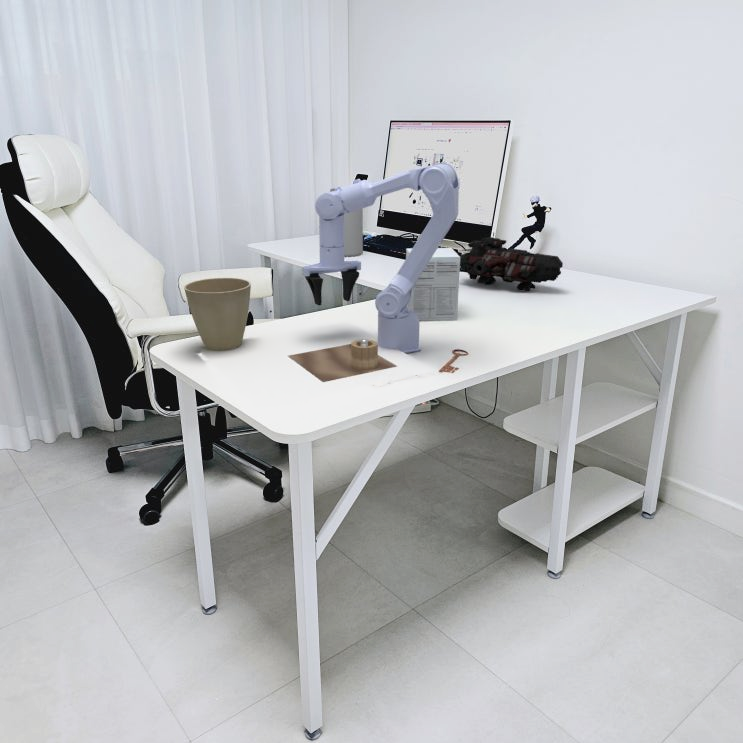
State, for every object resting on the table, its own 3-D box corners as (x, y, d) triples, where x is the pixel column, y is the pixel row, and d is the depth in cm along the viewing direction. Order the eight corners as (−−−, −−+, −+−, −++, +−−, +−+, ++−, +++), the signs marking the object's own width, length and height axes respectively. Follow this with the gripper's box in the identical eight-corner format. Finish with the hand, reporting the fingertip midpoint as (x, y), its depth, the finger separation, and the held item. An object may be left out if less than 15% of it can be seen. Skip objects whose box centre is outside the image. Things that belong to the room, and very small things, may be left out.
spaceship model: (545, 302, 197) (550, 252, 191) (451, 285, 215) (453, 239, 210) (570, 289, 211) (575, 242, 206) (480, 275, 229) (482, 231, 224)
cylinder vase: (350, 258, 255) (350, 191, 246) (325, 254, 261) (323, 189, 252) (368, 253, 265) (368, 188, 256) (343, 249, 271) (342, 187, 262)
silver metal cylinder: (365, 363, 144) (365, 337, 142) (369, 365, 143) (369, 339, 140) (359, 364, 143) (359, 338, 141) (363, 367, 142) (362, 340, 140)
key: (456, 378, 142) (477, 356, 155) (457, 374, 142) (478, 352, 154) (431, 371, 144) (454, 350, 157) (432, 367, 144) (454, 346, 157)
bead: (367, 359, 147) (367, 337, 145) (382, 366, 142) (382, 344, 140) (346, 364, 144) (346, 342, 142) (360, 372, 139) (360, 349, 137)
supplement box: (458, 320, 179) (461, 256, 173) (409, 321, 178) (411, 257, 172) (449, 307, 191) (452, 247, 185) (404, 308, 190) (405, 247, 184)
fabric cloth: (357, 348, 158) (356, 342, 157) (397, 372, 143) (397, 366, 143) (287, 362, 149) (287, 355, 148) (323, 388, 135) (323, 382, 134)
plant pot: (264, 342, 162) (260, 278, 156) (239, 363, 148) (234, 294, 142) (208, 338, 165) (202, 275, 159) (179, 358, 151) (171, 290, 145)
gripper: (351, 240, 159) (351, 294, 164) (296, 245, 152) (297, 302, 157) (365, 245, 153) (365, 301, 158) (309, 250, 146) (310, 309, 151)
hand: (332, 302), depth 157 cm, fingers open, 7 cm apart
